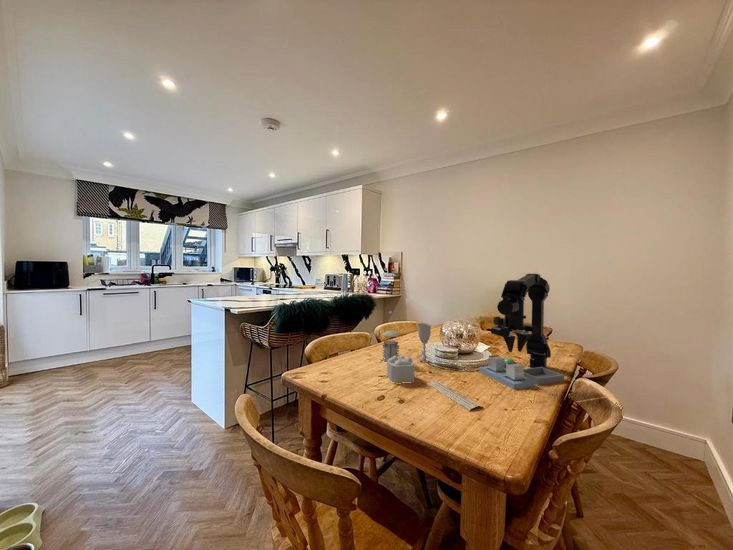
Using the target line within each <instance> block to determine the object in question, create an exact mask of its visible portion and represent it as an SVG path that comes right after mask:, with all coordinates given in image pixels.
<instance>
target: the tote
mask: <svg viewBox="0 0 733 550" xmlns="http://www.w3.org/2000/svg"><path fill="white" fill-rule="evenodd" d="M524 377H526V378H528V379H531V380H533V381H535V386H541V385H542V386H543V385H547V384H555V383H556V384H557V383H562V382H565V374H562V373H559V372H558V371H554V370H552V369H550V368H549V369H546V368H544V367H536V368H531V367H529V368H524Z"/></svg>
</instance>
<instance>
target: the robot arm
mask: <svg viewBox="0 0 733 550" xmlns="http://www.w3.org/2000/svg"><path fill="white" fill-rule="evenodd" d="M550 289H551V288H550V284H549V282H548V281H547V279H545V278H543V277H542V276H541V274H539V273H526V274H525V275H524V276H522V277H520V278H518V279H511V280H507V281H506V283H504V287H503V290H502V292H501V295H500V297H501V300H500V301H499V302H498V303H497V306H496V307H497V311H498V312H499V314H501V315H503V316H504V317H503V318H501V316H493V326H491V328H490V333H491V334H492V335H496V336H498V337H502V339H503V340H504V342H505V344H506V348H507V350H508V352H509V353H513V350H514V349H513V348H514V345H515V340H516V339H517V351H518V352H520V353H521V352H522V350H523V349H524V347H525V348H526V355H530V358H529V365H527V367H529V368H536V367H544V368H546V369H549V370H550V368H549V367H548V366H547V362H548V360H547V359H548V358H551V357H552V355H551V354H552V353H551V352H552V351H551V349H550V345H549V344H548V339H547V337H546V335H545V334H544V316H545V315H544V313H545V312H544V311H545V310H544V309H545V308H544V306H545V305H544V304H545V303H544V302H545V301H546V299H547V298H548V296H549V292H550ZM527 296H528V298H529V299H530V301H531V324H529V323H527V324H525V323H524V322H525V321H524V319H527V315H525V314H524V312H525V309H524V308H525V300H526V299H525V298H526V297H527ZM530 332H531V333H530ZM514 333H515V335H516V336H515V335H514ZM516 337H517V338H516Z"/></svg>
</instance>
